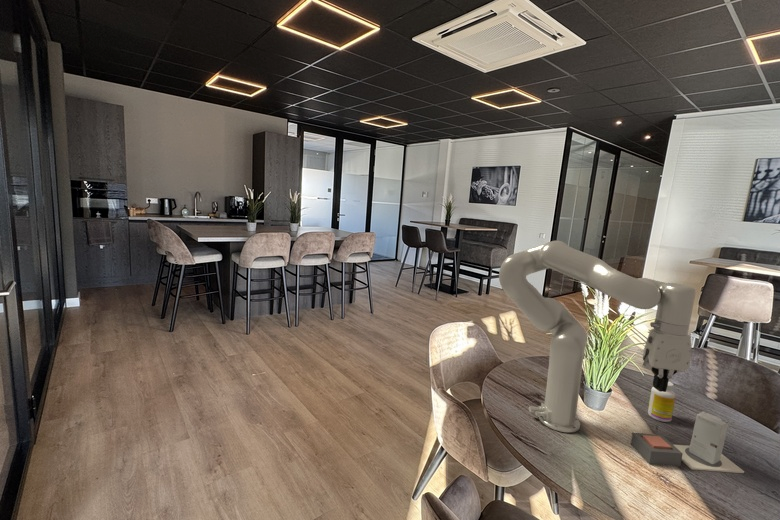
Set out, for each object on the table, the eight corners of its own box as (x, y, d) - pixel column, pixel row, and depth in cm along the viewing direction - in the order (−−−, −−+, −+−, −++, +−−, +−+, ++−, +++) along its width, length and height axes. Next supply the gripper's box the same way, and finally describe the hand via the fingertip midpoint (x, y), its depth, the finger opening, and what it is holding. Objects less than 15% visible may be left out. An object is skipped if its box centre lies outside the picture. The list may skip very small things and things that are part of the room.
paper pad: (691, 469, 98) (691, 467, 98) (665, 445, 108) (665, 443, 108) (744, 473, 98) (744, 471, 98) (713, 448, 108) (713, 447, 108)
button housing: (649, 464, 100) (651, 451, 99) (630, 444, 108) (632, 432, 107) (680, 466, 99) (682, 453, 99) (659, 446, 108) (661, 434, 107)
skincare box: (687, 452, 105) (694, 413, 103) (695, 448, 107) (702, 410, 105) (714, 465, 99) (722, 425, 98) (721, 461, 101) (729, 421, 100)
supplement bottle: (675, 424, 120) (681, 388, 118) (653, 421, 121) (659, 385, 119) (664, 413, 126) (670, 379, 125) (643, 410, 128) (649, 376, 126)
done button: (652, 455, 101) (653, 445, 101) (641, 444, 106) (642, 435, 106) (669, 456, 101) (671, 447, 101) (657, 445, 106) (659, 436, 105)
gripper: (651, 330, 96) (640, 393, 99) (709, 334, 96) (696, 398, 98) (634, 321, 104) (624, 380, 107) (688, 325, 103) (677, 385, 106)
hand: (659, 389), depth 103 cm, fingers closed
